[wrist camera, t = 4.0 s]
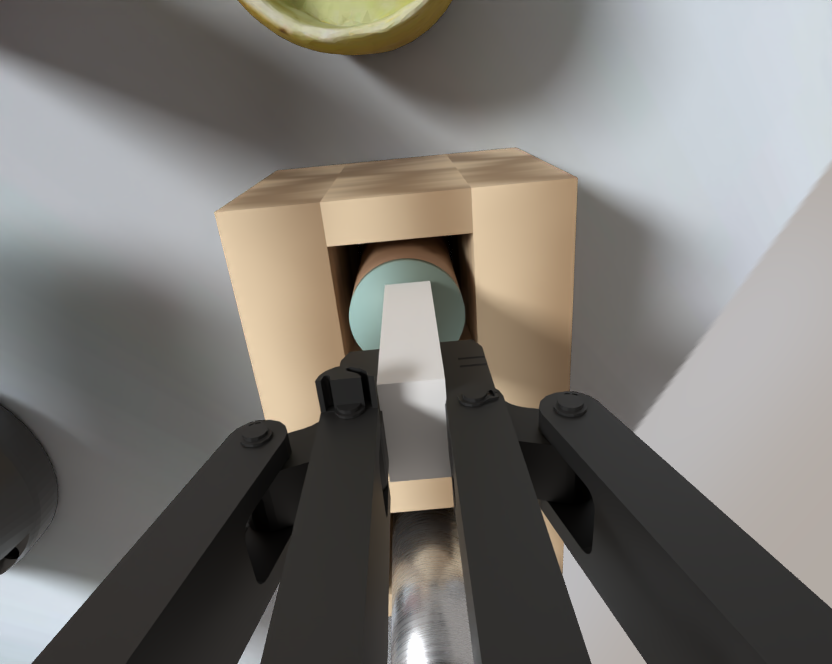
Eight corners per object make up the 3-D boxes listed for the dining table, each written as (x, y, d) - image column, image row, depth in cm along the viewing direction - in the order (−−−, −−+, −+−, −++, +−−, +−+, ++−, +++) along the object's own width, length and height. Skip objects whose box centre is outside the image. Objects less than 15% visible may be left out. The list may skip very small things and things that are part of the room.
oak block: (336, 483, 35) (315, 622, 26) (277, 170, 27) (214, 212, 17) (518, 467, 35) (561, 600, 26) (515, 147, 26) (577, 177, 17)
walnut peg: (369, 288, 27) (357, 373, 19) (359, 210, 26) (340, 267, 17) (446, 281, 27) (467, 363, 19) (441, 202, 26) (462, 256, 17)
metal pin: (393, 552, 27) (390, 756, 19) (384, 491, 25) (377, 685, 17) (472, 545, 27) (504, 746, 19) (468, 483, 25) (502, 674, 17)
